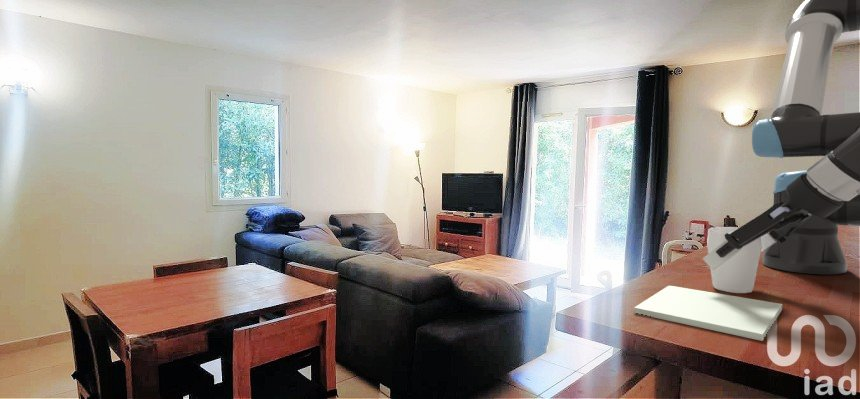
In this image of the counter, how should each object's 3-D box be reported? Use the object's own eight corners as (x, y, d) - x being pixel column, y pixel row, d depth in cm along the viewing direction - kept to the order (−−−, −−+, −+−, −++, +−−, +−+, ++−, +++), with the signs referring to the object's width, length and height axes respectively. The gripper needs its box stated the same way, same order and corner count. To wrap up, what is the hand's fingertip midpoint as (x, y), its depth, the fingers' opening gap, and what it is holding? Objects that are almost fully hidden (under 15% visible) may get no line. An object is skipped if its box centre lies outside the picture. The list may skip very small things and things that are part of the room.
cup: (770, 296, 83) (772, 233, 82) (717, 294, 85) (718, 233, 84) (746, 283, 92) (747, 226, 91) (698, 282, 94) (700, 226, 93)
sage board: (668, 290, 88) (669, 285, 88) (782, 309, 76) (782, 304, 76) (634, 313, 76) (634, 307, 76) (762, 341, 63) (762, 334, 63)
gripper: (811, 209, 66) (706, 284, 80) (873, 199, 78) (771, 266, 92) (771, 174, 70) (677, 251, 84) (835, 169, 82) (744, 238, 96)
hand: (726, 259), depth 88 cm, fingers open, 13 cm apart
